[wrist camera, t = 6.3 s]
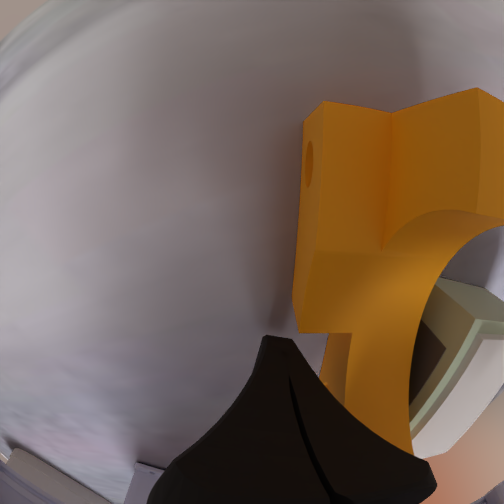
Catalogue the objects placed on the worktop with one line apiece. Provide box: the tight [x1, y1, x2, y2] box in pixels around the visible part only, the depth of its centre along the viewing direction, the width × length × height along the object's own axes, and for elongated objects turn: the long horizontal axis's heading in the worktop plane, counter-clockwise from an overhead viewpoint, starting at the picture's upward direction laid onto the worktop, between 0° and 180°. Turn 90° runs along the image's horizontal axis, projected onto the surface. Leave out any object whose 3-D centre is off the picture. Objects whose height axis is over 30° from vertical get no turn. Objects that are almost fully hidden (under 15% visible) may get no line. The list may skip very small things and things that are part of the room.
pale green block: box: [409, 277, 504, 459], centre depth 9 cm, size 5×8×4 cm, turn 168°
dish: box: [6, 448, 112, 504], centre depth 21 cm, size 22×22×5 cm
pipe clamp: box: [292, 88, 504, 455], centre depth 7 cm, size 12×4×6 cm, turn 178°
